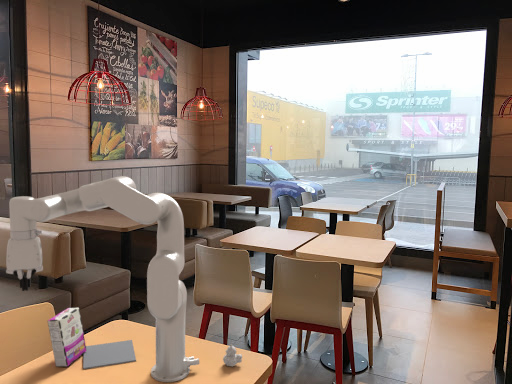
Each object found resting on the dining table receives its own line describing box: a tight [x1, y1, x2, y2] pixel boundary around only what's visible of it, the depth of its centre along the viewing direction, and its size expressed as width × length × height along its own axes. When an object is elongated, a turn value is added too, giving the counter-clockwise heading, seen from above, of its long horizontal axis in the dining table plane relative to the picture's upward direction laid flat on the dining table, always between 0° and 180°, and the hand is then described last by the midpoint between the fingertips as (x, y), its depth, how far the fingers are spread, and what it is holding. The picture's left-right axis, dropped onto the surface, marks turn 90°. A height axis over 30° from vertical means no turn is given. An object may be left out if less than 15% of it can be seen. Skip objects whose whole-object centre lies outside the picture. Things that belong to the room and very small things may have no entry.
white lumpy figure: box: [222, 342, 243, 367], centre depth 147 cm, size 5×7×8 cm
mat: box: [82, 339, 137, 370], centre depth 153 cm, size 17×16×1 cm
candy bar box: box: [47, 307, 87, 368], centre depth 147 cm, size 11×5×16 cm, turn 168°
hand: (25, 289), depth 140 cm, fingers closed
